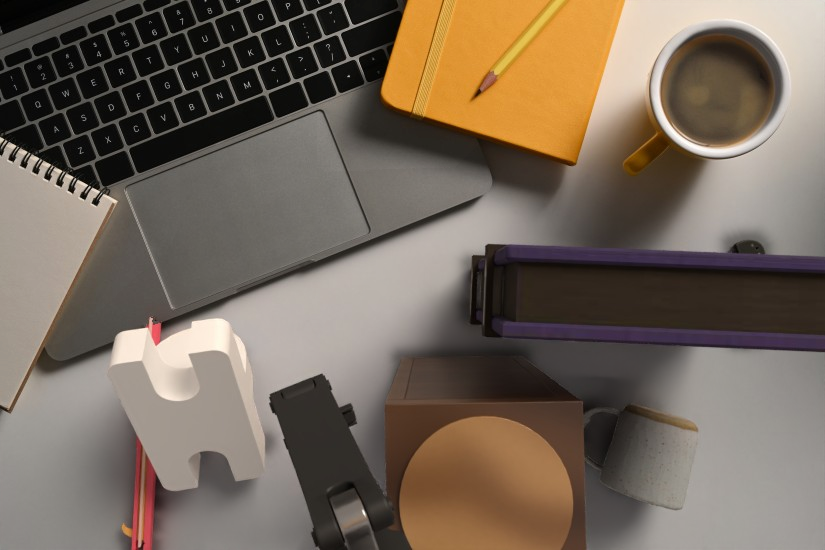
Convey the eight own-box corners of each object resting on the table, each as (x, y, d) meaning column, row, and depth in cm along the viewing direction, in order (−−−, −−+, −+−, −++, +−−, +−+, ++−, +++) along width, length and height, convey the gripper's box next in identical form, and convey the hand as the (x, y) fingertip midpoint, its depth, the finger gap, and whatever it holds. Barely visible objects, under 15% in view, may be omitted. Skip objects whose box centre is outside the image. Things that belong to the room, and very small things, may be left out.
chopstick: (168, 562, 68) (117, 563, 67) (171, 553, 70) (122, 555, 69) (180, 318, 69) (130, 316, 68) (183, 317, 71) (134, 315, 70)
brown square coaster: (582, 590, 43) (589, 604, 41) (389, 592, 43) (387, 605, 41) (577, 396, 43) (584, 401, 41) (385, 399, 44) (383, 404, 42)
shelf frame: (524, 476, 69) (582, 590, 43) (404, 477, 69) (389, 592, 43) (521, 355, 69) (577, 396, 43) (402, 357, 70) (385, 399, 44)
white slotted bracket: (267, 476, 67) (267, 391, 75) (226, 348, 55) (231, 263, 63) (165, 492, 66) (177, 404, 74) (102, 365, 54) (124, 277, 63)
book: (705, 267, 69) (918, 252, 39) (703, 331, 69) (915, 364, 39) (468, 258, 70) (498, 235, 40) (466, 320, 69) (494, 346, 39)
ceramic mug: (686, 415, 69) (717, 430, 61) (665, 495, 69) (694, 520, 61) (582, 386, 69) (599, 398, 61) (561, 466, 69) (576, 488, 61)
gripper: (757, 1178, 18) (490, 719, 39) (436, 293, 18) (337, 304, 38) (507, 1377, 17) (366, 787, 37) (141, 405, 16) (204, 353, 37)
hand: (351, 542), depth 38 cm, fingers open, 13 cm apart
